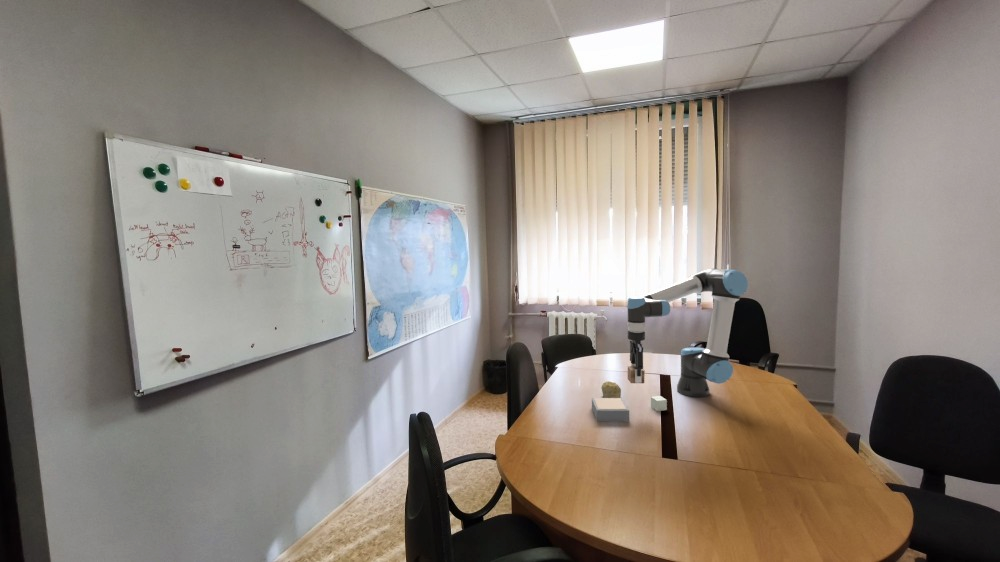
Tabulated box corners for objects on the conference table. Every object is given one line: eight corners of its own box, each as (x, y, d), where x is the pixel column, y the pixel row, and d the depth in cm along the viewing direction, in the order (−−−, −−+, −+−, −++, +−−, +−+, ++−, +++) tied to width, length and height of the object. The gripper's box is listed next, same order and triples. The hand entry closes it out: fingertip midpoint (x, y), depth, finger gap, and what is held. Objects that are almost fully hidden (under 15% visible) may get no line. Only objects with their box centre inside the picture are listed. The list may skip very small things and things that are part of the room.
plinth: (621, 408, 184) (621, 397, 183) (629, 421, 170) (629, 409, 169) (591, 408, 185) (591, 397, 184) (596, 421, 171) (596, 409, 171)
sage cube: (660, 405, 185) (660, 395, 185) (666, 410, 180) (666, 399, 180) (650, 407, 184) (650, 396, 184) (656, 411, 180) (657, 400, 179)
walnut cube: (640, 378, 182) (640, 366, 181) (644, 383, 176) (644, 370, 175) (627, 378, 182) (627, 366, 182) (630, 383, 176) (630, 370, 176)
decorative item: (620, 403, 199) (617, 384, 204) (624, 398, 191) (621, 378, 196) (601, 403, 200) (599, 384, 205) (604, 398, 191) (601, 378, 197)
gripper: (622, 326, 187) (623, 373, 189) (633, 335, 168) (633, 387, 170) (638, 326, 186) (638, 373, 188) (651, 335, 167) (650, 387, 169)
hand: (636, 380), depth 179 cm, fingers closed on walnut cube, 6 cm apart
